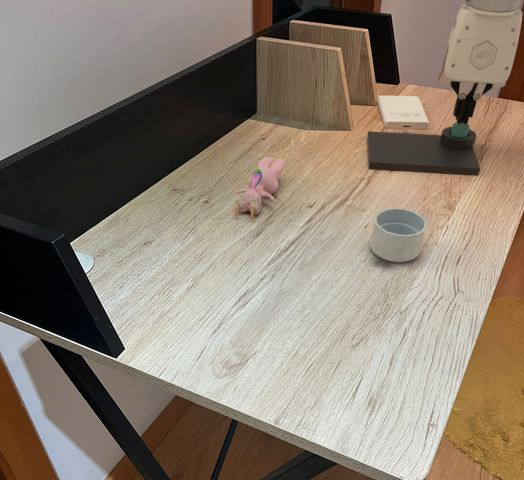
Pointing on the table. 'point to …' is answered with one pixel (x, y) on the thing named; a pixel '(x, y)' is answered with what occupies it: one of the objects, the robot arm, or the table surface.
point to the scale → (423, 152)
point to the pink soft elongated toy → (260, 186)
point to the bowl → (398, 234)
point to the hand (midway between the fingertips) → (461, 120)
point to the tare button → (460, 130)
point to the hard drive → (402, 112)
